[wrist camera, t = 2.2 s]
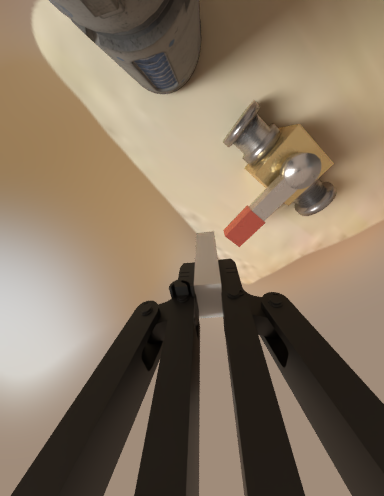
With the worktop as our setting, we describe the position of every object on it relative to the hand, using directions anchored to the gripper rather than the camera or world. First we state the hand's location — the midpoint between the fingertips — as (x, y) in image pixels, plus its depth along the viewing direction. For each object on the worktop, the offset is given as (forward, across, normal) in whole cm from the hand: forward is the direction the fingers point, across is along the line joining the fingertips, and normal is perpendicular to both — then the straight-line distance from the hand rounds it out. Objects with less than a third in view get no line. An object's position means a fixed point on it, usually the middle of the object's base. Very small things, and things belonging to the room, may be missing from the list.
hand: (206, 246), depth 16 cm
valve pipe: (+19, +12, +3) cm, 23 cm away
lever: (+11, +9, 0) cm, 14 cm away
